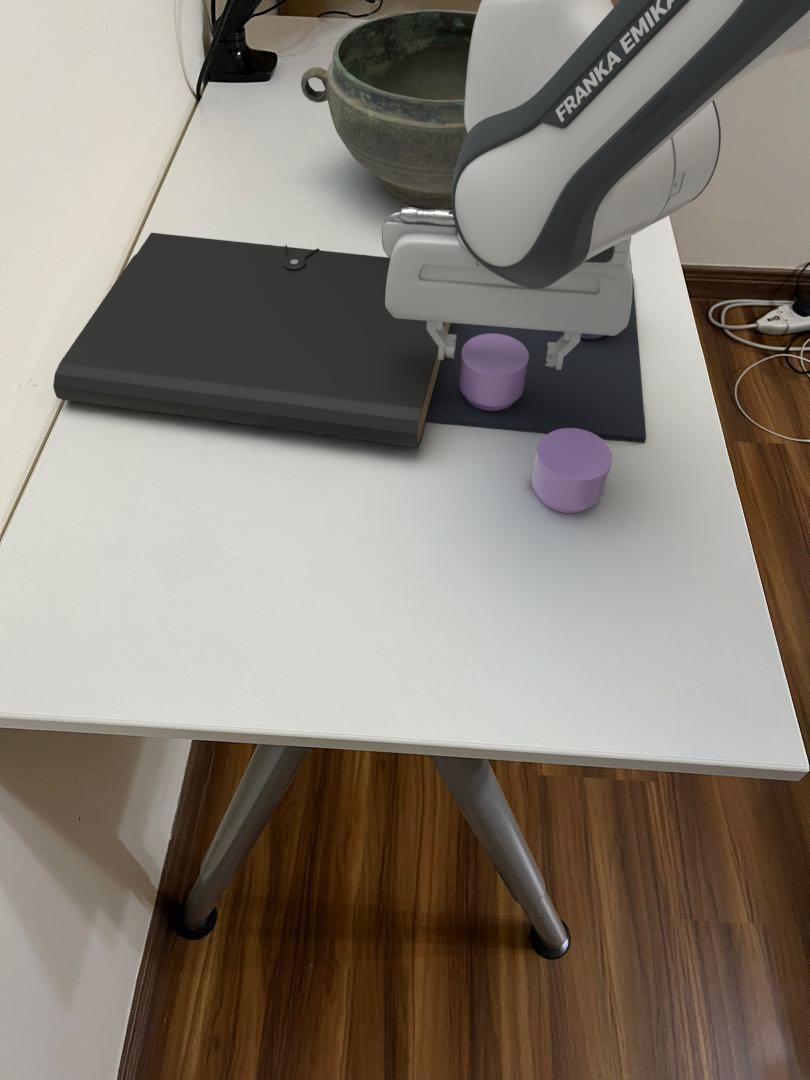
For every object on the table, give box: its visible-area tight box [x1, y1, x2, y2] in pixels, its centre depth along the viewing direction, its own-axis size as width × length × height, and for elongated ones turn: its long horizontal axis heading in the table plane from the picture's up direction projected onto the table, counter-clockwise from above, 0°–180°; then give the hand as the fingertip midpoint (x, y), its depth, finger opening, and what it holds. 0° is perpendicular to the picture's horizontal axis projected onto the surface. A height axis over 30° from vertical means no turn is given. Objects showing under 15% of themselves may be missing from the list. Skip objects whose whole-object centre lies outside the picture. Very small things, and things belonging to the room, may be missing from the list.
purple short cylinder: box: [531, 428, 613, 514], centre depth 70 cm, size 6×6×5 cm
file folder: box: [52, 232, 451, 448], centre depth 81 cm, size 33×4×24 cm
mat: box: [425, 272, 647, 443], centre depth 84 cm, size 20×26×1 cm
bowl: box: [300, 8, 478, 210], centre depth 99 cm, size 32×26×15 cm
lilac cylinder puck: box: [459, 333, 529, 411], centre depth 77 cm, size 6×6×5 cm
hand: (499, 360), depth 75 cm, fingers open, 8 cm apart
